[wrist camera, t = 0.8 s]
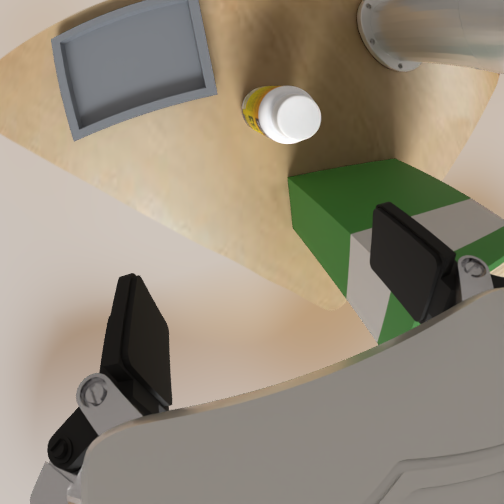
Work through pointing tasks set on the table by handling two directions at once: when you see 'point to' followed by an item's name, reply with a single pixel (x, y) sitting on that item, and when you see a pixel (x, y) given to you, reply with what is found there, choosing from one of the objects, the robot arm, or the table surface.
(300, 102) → the supplement bottle
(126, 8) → the tray
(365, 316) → the hardback book
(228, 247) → the table surface
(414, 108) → the table surface
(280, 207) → the table surface
